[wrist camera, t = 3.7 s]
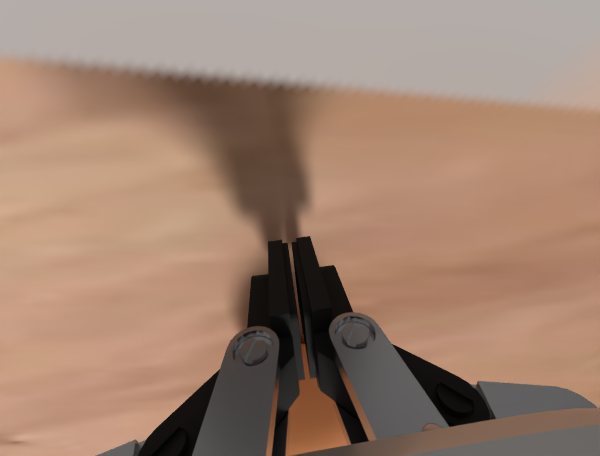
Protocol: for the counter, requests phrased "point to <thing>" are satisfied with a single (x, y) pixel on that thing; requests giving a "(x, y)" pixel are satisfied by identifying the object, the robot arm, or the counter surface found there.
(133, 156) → the counter surface
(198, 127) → the counter surface
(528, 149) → the counter surface
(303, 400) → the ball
